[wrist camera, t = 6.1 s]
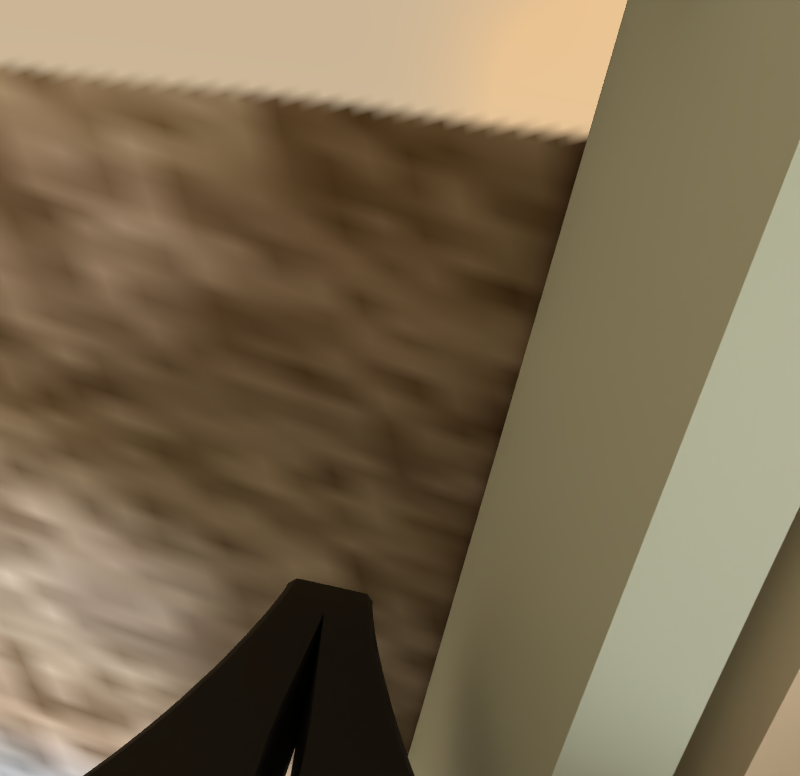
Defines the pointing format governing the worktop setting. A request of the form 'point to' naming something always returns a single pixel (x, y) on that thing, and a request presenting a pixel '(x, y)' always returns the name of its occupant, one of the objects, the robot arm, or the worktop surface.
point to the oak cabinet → (757, 685)
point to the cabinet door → (641, 418)
